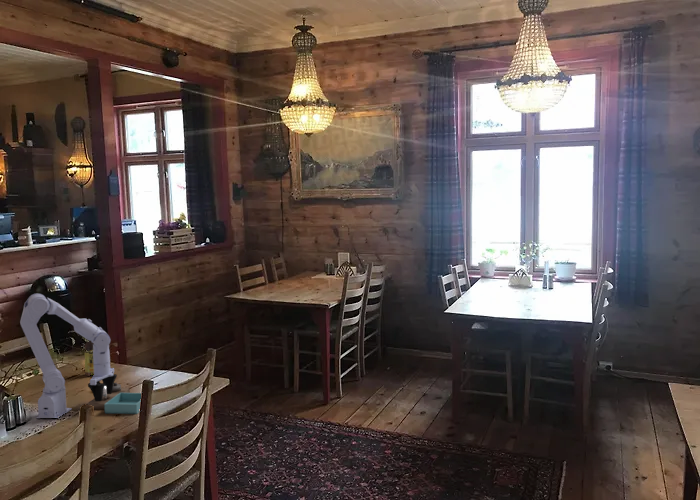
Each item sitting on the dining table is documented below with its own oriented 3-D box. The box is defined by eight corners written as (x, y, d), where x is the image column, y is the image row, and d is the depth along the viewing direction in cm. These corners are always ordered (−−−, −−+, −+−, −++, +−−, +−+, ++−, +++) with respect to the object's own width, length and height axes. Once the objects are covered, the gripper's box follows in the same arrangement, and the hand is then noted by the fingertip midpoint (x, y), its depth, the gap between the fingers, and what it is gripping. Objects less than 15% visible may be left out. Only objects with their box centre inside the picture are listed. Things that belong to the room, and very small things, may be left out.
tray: (136, 413, 206) (136, 404, 205) (104, 413, 206) (104, 404, 206) (150, 401, 217) (150, 393, 217) (120, 401, 218) (120, 392, 218)
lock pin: (105, 405, 214) (104, 387, 214) (99, 405, 215) (98, 387, 214) (108, 403, 217) (107, 385, 216) (102, 402, 217) (101, 385, 216)
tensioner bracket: (107, 409, 210) (106, 396, 210) (86, 408, 211) (86, 395, 211) (129, 392, 228) (129, 380, 228) (110, 392, 229) (109, 380, 228)
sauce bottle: (90, 377, 248) (88, 332, 246) (82, 375, 251) (79, 331, 249) (104, 373, 253) (101, 329, 251) (95, 371, 256) (93, 328, 255)
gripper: (102, 368, 207) (104, 404, 208) (121, 357, 221) (122, 391, 222) (83, 368, 207) (85, 404, 208) (103, 356, 222) (105, 390, 223)
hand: (103, 397), depth 215 cm, fingers open, 7 cm apart
